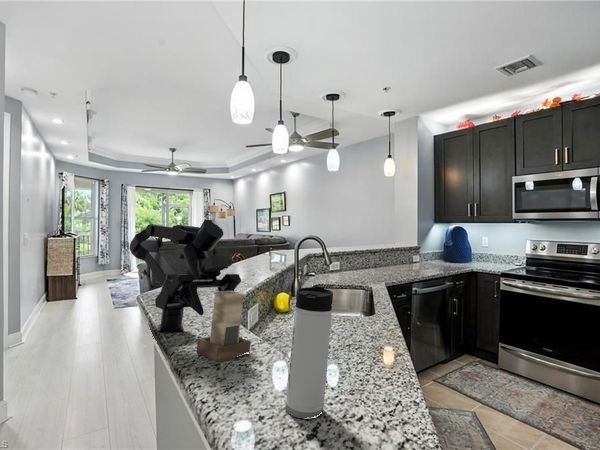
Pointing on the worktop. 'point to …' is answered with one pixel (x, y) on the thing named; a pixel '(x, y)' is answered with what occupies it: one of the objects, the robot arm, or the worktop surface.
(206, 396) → the worktop surface
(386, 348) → the worktop surface
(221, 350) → the post socket
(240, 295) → the block
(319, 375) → the travel mug
